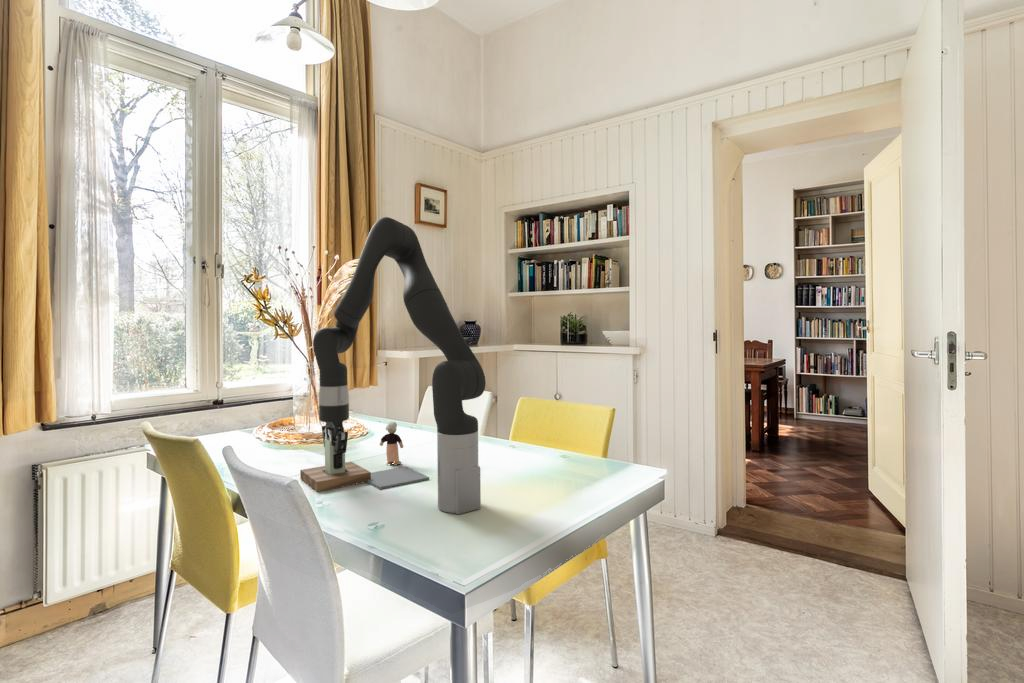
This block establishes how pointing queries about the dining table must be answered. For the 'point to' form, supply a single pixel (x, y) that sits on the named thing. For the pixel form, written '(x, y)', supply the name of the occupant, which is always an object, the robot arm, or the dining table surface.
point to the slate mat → (395, 477)
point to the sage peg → (331, 459)
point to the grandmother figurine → (392, 443)
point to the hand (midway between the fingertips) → (335, 466)
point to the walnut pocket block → (334, 477)
